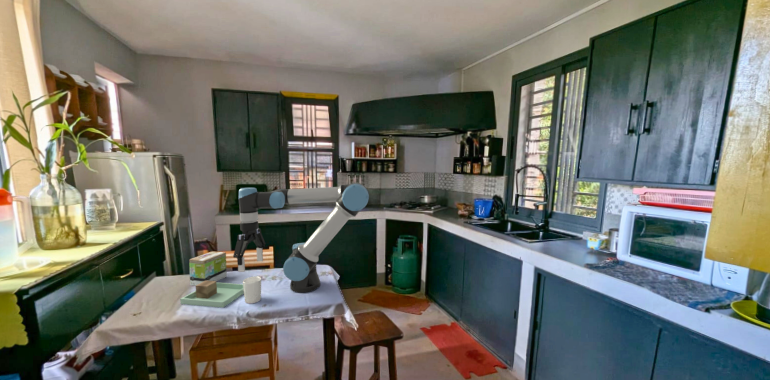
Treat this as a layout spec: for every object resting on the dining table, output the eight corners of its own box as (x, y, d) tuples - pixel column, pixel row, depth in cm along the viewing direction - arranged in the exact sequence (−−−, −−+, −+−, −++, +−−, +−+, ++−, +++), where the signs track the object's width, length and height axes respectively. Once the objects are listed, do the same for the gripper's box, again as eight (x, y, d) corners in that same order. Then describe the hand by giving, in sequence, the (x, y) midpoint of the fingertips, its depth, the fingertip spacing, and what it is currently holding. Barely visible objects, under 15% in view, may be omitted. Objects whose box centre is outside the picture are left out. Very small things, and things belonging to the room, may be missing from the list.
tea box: (206, 288, 146) (204, 260, 144) (189, 286, 148) (187, 259, 146) (227, 276, 160) (226, 251, 159) (212, 275, 162) (211, 250, 161)
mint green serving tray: (249, 290, 143) (249, 284, 143) (223, 308, 125) (222, 302, 124) (211, 287, 146) (211, 282, 146) (180, 305, 128) (180, 298, 128)
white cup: (256, 294, 138) (255, 275, 137) (265, 299, 133) (264, 279, 132) (240, 301, 132) (239, 280, 131) (249, 306, 127) (248, 284, 126)
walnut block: (217, 293, 139) (216, 281, 138) (207, 298, 133) (206, 286, 132) (206, 292, 140) (205, 280, 139) (196, 297, 134) (195, 285, 133)
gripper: (258, 216, 142) (259, 257, 144) (222, 227, 117) (224, 276, 119) (271, 216, 141) (273, 257, 143) (238, 227, 116) (240, 277, 118)
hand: (251, 266), depth 131 cm, fingers open, 13 cm apart
